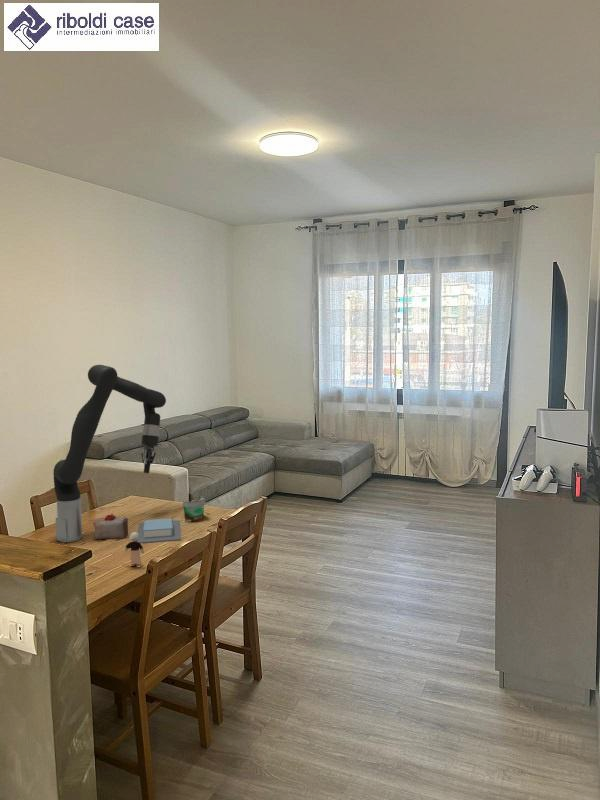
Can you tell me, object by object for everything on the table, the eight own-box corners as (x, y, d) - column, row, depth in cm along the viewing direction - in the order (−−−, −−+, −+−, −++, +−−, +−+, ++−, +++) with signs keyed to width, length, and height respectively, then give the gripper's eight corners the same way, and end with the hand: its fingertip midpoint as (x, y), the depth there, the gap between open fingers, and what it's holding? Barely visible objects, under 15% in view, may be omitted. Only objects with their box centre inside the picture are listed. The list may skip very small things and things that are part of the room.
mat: (181, 540, 243) (180, 538, 243) (135, 543, 240) (135, 542, 240) (180, 521, 269) (180, 520, 269) (139, 524, 265) (139, 523, 265)
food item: (91, 541, 244) (90, 518, 243) (98, 534, 252) (97, 512, 251) (124, 540, 244) (123, 517, 243) (130, 534, 252) (129, 511, 251)
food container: (192, 525, 262) (192, 504, 261) (182, 523, 266) (182, 501, 265) (211, 518, 272) (211, 497, 271) (201, 516, 276) (201, 495, 275)
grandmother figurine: (147, 563, 218) (146, 530, 217) (144, 567, 215) (142, 534, 213) (126, 563, 219) (125, 530, 217) (123, 567, 215) (121, 533, 214)
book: (144, 520, 258) (143, 530, 244) (172, 518, 260) (172, 528, 246) (145, 528, 258) (143, 538, 244) (173, 526, 260) (173, 536, 247)
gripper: (163, 435, 268) (159, 473, 265) (153, 437, 279) (149, 473, 276) (147, 433, 264) (143, 472, 261) (138, 435, 275) (133, 472, 272)
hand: (146, 473), depth 269 cm, fingers closed
